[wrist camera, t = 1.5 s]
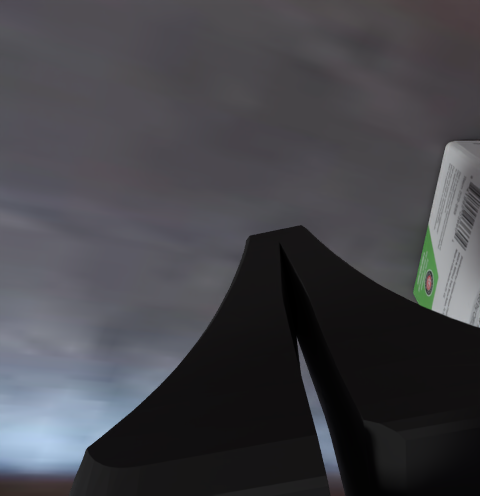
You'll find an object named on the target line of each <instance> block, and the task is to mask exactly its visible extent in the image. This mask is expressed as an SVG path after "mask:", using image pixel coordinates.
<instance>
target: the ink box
mask: <svg viewBox="0 0 480 496" xmlns="http://www.w3.org/2000/svg"><path fill="white" fill-rule="evenodd" d="M413 293H414V296H415V298H416V300H417V302H418V304H419V305H421V306H423V307H426V308H428V309H431V310H433V311H436V312H438V313H441V314H443V315H445V316H448V317H450V318H453V319H456V320H459V321H462V322H464V323H467V324H470V325H473V326H476V327H479V328H480V141H453V142H450V143H448V144H447V145H446V148H445V152H444V156H443V161H442V165H441V170H440V174H439V179H438V183H437V188H436V192H435V196H434V201H433V206H432V210H431V215H430V219H429V223H428V229H427V233H426V237H425V242H424V246H423V251H422V255H421V260H420V264H419V269H418V273H417V278H416V282H415V286H414V292H413Z"/></svg>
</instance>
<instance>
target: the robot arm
mask: <svg viewBox="0 0 480 496" xmlns="http://www.w3.org/2000/svg"><path fill="white" fill-rule="evenodd" d="M296 336H297V337H296ZM297 339H298V341H299V344H300V347H301V350H302V353H303V356H304V359H305V361H306V364H307V367H308V370H309V373H310V376H311V378H312V381H313V384H314V387H315V390H316V393H317V395H318V398H319V401H320V404H321V407H322V409H323V412H324V415H325V419H326V422H327V425H328V428H329V432H330V435H331V439H332V443H333V447H334V451H335V455H336V459H337V463H338V467H339V471H340V475H341V480H342V484H343V488H344V492H345V496H480V328H479V327H476V326H473V325H470V324H467V323H464V322H462V321H459V320H456V319H453V318H450V317H448V316H445V315H443V314H441V313H438V312H436V311H433V310H431V309H428V308H426V307H423V306H421V305H419V304H416V303H414V302H412V301H410V300H408V299H406V298H404V297H402V296H400V295H398V294H396V293H394V292H392V291H390V290H388V289H386V288H384V287H383V286H381V285H379V284H377V283H376V282H374V281H372V280H371V279H369V278H368V277H366V276H365V275H363V274H362V273H360V272H359V271H357V270H356V269H354V268H353V267H351V266H350V265H349V264H347V263H346V262H345V261H343V260H342V259H341V258H340V257H338V256H337V255H336V254H334V253H333V252H332V251H331V250H329V249H328V248H327V247H326V246H325V245H324V244H322V243H321V242H320V241H319V240H318V239H317V238H316V237H315V236H313V235H312V234H311V233H310V232H309V231H308V230H307V229H306V228H305V227H303V226H302V225H300V226H295V227H290V228H285V229H280V230H276V231H271V232H266V233H261V234H256V235H251V236H249V238H248V239H247V240H246V245H245V249H244V253H243V256H242V259H241V262H240V264H239V267H238V270H237V272H236V274H235V277H234V279H233V281H232V284H231V286H230V288H229V290H228V292H227V294H226V296H225V298H224V300H223V302H222V303H221V305H220V307H219V309H218V311H217V313H216V314H215V316H214V318H213V319H212V321H211V322H210V324H209V326H208V327H207V329H206V330H205V332H204V333H203V334H202V336H201V337H200V339H199V340H198V342H197V343H196V344H195V345H194V347H193V348H192V349H191V351H190V352H189V353H188V354H187V356H186V357H185V358H184V359H183V361H182V362H181V363H180V364H179V365H178V367H177V368H176V369H175V370H174V371H173V372H172V373H171V374H170V375H169V376H168V377H167V378H166V379H165V381H164V382H163V383H162V384H161V385H160V386H159V387H158V388H157V389H156V390H155V391H154V392H152V393H151V394H150V395H149V396H148V397H147V398H146V399H145V400H144V401H143V402H142V403H141V404H140V405H139V406H138V407H136V408H135V409H134V410H133V411H132V412H131V413H130V414H128V415H127V416H126V417H125V418H124V419H122V420H121V421H120V422H119V423H117V424H116V425H115V426H114V427H113V428H111V429H110V430H109V431H108V432H107V433H105V434H104V435H103V436H102V437H101V438H99V439H98V440H97V441H96V442H94V443H93V444H92V445H90V446H89V447H88V448H87V449H86V451H85V454H84V457H83V460H82V462H81V465H80V467H79V470H78V472H77V474H76V477H75V479H74V482H73V485H72V488H71V491H70V494H69V496H330V490H329V485H328V480H327V475H326V471H325V467H324V463H323V458H322V454H321V450H320V445H319V441H318V437H317V433H316V429H315V426H314V422H313V418H312V415H311V411H310V407H309V403H308V399H307V396H306V392H305V388H304V384H303V380H302V376H301V370H300V362H299V354H298V345H297Z"/></svg>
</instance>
